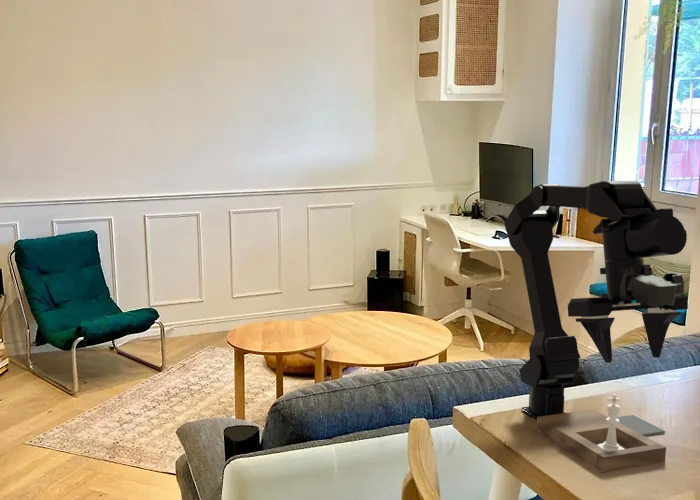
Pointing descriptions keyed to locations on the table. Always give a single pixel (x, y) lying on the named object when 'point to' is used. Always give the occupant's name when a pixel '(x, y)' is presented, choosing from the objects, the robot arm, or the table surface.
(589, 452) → the brown slab with hole
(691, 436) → the table surface
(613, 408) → the chess piece
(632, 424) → the rubber mat
